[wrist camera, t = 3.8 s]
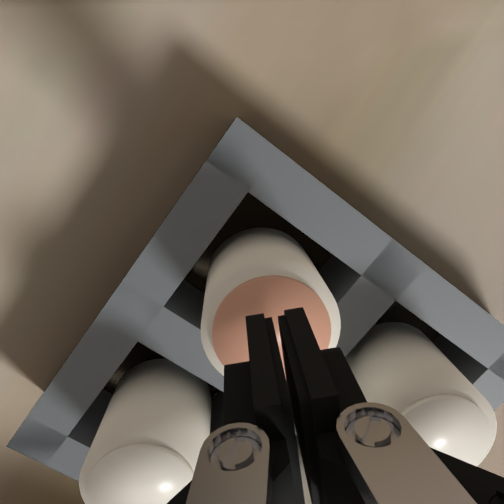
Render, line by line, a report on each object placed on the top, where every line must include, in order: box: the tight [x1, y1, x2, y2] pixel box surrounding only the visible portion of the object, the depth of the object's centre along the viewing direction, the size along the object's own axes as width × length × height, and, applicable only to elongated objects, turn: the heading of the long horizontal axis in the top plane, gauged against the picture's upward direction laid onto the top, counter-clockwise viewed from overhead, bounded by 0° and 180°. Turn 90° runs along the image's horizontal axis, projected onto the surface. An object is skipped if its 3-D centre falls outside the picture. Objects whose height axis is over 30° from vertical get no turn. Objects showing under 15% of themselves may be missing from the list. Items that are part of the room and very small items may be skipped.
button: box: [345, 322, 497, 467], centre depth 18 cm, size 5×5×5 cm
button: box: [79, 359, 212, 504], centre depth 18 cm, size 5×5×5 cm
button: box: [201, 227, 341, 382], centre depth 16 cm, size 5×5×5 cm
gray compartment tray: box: [7, 117, 504, 481], centre depth 21 cm, size 18×18×4 cm
